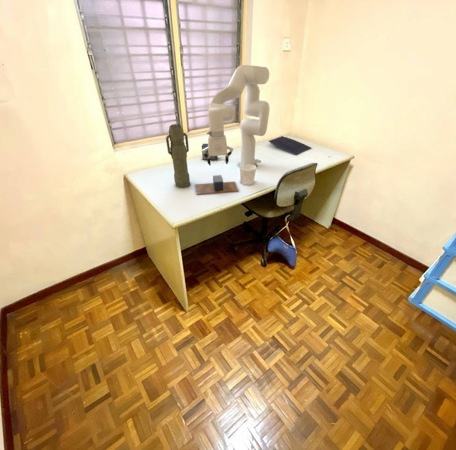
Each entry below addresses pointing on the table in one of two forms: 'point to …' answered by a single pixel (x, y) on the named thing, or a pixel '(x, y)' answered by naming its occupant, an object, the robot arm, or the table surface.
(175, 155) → the thermos
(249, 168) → the cup
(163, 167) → the table surface
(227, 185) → the mat
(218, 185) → the block
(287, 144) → the black flat slab
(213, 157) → the small box
